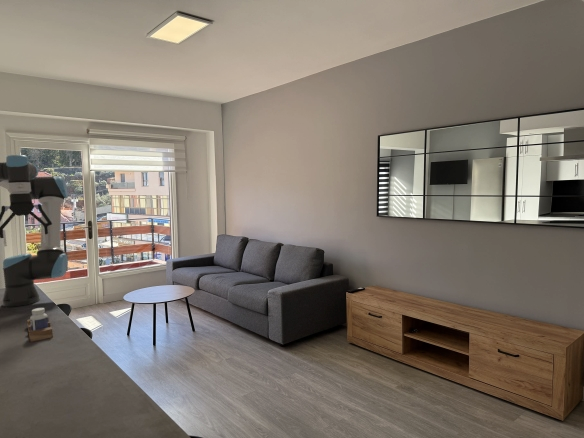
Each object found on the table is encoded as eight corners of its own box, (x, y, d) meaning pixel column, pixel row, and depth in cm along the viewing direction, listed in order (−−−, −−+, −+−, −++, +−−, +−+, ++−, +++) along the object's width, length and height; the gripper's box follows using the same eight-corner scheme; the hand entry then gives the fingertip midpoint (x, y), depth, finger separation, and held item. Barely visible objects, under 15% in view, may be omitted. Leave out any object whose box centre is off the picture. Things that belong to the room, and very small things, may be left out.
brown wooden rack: (28, 327, 160) (27, 319, 160) (48, 323, 164) (47, 315, 164) (30, 341, 143) (29, 333, 143) (52, 337, 147) (52, 329, 147)
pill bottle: (52, 332, 153) (49, 307, 152) (42, 337, 147) (39, 311, 147) (38, 332, 153) (36, 307, 152) (28, 337, 148) (25, 311, 147)
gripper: (-18, 194, 157) (-13, 248, 158) (56, 191, 171) (60, 241, 173) (-17, 194, 163) (-12, 246, 165) (54, 191, 177) (58, 240, 179)
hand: (25, 244), depth 169 cm, fingers open, 13 cm apart
